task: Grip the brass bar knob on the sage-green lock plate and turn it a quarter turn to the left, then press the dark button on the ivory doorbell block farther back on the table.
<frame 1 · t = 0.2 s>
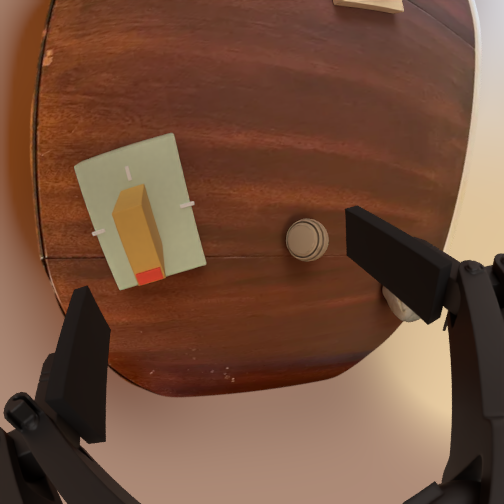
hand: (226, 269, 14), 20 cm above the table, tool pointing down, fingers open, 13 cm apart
door knob: (297, 231, 38), on the table
lock plate: (142, 208, 31), on the table
lock knob: (140, 231, 25), point 7 cm above the table, hinge at 0.0°
stone: (398, 278, 48), on the table
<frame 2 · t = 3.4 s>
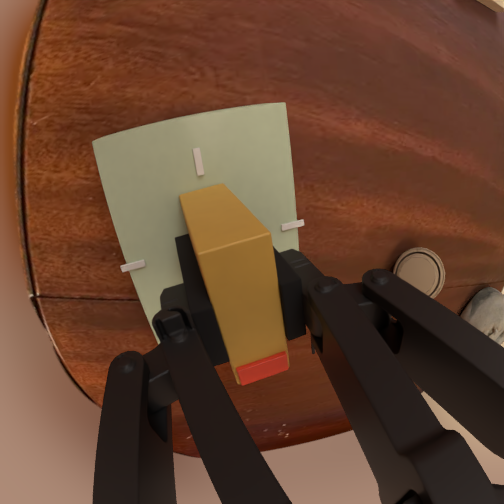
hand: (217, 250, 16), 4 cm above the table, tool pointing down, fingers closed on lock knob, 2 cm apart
door knob: (400, 262, 27), on the table
lock plate: (205, 225, 20), on the table
lock knob: (229, 276, 14), point 7 cm above the table, hinge at 2.2°, touching gripper
stone: (470, 309, 37), on the table
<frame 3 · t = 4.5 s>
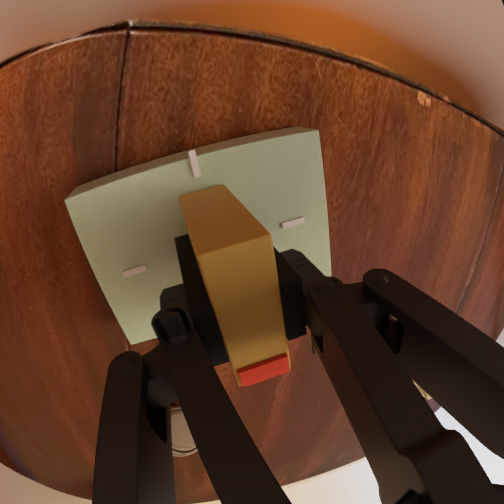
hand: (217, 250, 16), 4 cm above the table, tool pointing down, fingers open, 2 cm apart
door knob: (174, 409, 26), on the table
lock plate: (205, 226, 20), on the table
lock knob: (230, 278, 14), point 7 cm above the table, hinge at 89.5°
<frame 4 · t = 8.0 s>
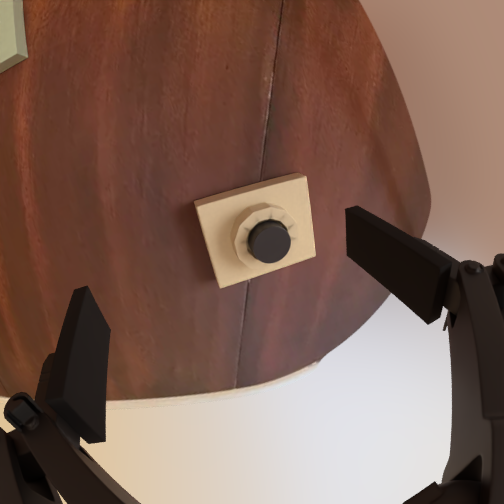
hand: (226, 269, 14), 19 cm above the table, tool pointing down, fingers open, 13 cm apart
bell button: (269, 242, 31), point 4 cm above the table, slide at 0.1 cm
doorbell: (256, 226, 35), on the table
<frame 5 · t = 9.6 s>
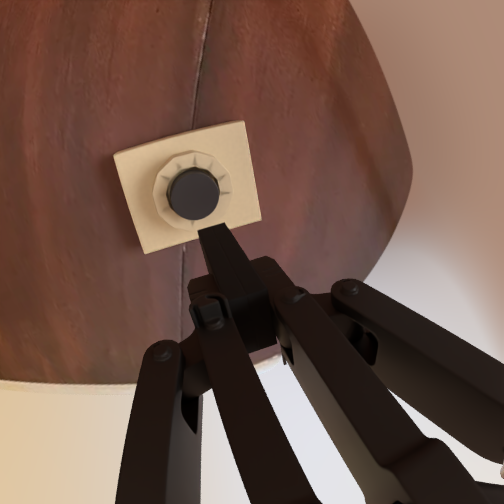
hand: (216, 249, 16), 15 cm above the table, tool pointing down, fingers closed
bell button: (193, 194, 25), point 4 cm above the table, slide at 0.1 cm
doorbell: (188, 183, 29), on the table
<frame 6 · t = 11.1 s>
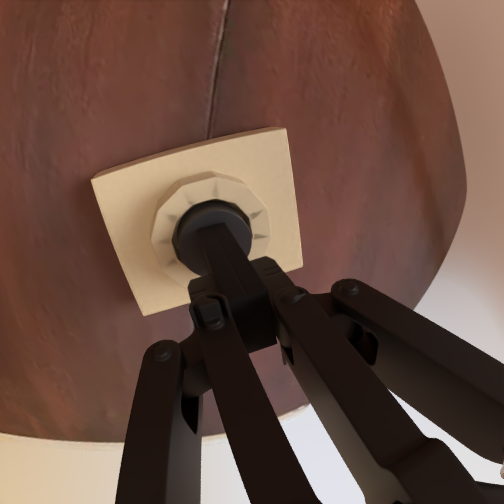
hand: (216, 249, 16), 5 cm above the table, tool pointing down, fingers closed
bell button: (213, 239, 17), point 4 cm above the table, slide at -0.3 cm, touching gripper
doorbell: (202, 216, 21), on the table
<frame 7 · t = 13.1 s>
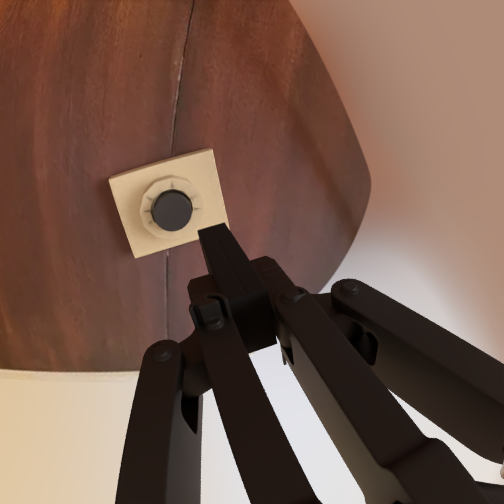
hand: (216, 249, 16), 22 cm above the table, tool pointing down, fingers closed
bell button: (172, 211, 32), point 4 cm above the table, slide at 0.1 cm
doorbell: (169, 200, 36), on the table
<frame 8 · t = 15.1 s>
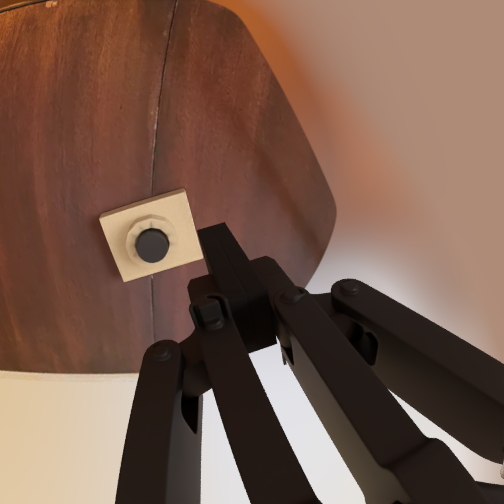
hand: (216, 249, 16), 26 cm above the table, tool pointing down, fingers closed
bell button: (152, 246, 38), point 4 cm above the table, slide at 0.1 cm
doorbell: (151, 233, 42), on the table
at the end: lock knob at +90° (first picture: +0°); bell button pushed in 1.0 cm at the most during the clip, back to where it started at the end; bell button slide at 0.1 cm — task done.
